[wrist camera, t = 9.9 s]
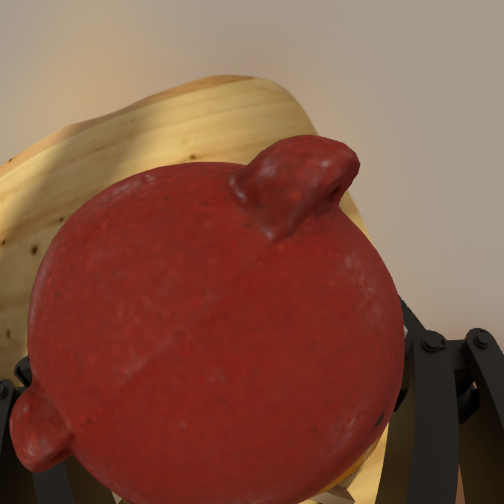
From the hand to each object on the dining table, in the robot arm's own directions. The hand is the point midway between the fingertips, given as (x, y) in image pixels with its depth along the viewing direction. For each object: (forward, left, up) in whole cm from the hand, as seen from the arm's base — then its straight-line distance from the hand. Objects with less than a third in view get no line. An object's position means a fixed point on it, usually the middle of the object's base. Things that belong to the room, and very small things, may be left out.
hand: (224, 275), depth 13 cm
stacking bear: (+2, -2, -8) cm, 8 cm away
